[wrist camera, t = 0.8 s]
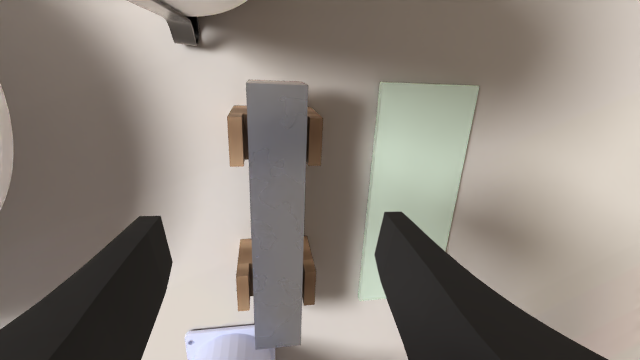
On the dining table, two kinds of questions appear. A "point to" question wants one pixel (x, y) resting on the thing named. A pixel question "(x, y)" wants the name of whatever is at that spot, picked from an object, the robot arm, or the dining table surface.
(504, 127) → the dining table surface
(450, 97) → the mat
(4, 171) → the plate stack
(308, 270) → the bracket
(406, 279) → the robot arm
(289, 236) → the rail
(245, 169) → the dining table surface
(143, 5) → the coffee press
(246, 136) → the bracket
